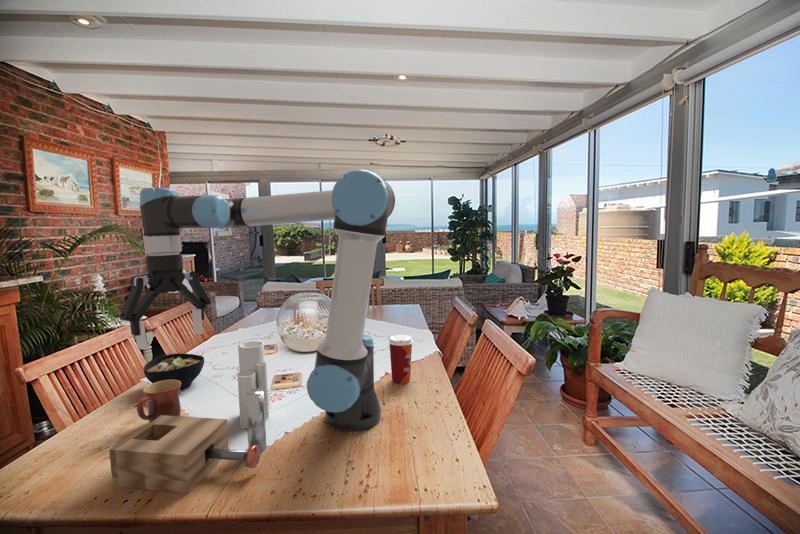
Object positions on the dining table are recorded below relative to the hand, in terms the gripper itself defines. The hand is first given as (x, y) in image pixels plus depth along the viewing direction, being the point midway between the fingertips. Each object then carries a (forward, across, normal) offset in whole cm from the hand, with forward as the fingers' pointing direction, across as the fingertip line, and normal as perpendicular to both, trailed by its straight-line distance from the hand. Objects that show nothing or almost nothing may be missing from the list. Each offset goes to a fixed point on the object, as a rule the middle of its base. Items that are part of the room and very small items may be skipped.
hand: (171, 340), depth 93 cm
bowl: (+25, -17, -31) cm, 43 cm away
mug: (+25, 0, -10) cm, 27 cm away
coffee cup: (+26, -57, +32) cm, 70 cm away
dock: (+25, +8, +11) cm, 28 cm away
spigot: (+25, -6, +21) cm, 33 cm away
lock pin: (+23, +3, +23) cm, 33 cm away
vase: (+25, -16, +9) cm, 31 cm away
